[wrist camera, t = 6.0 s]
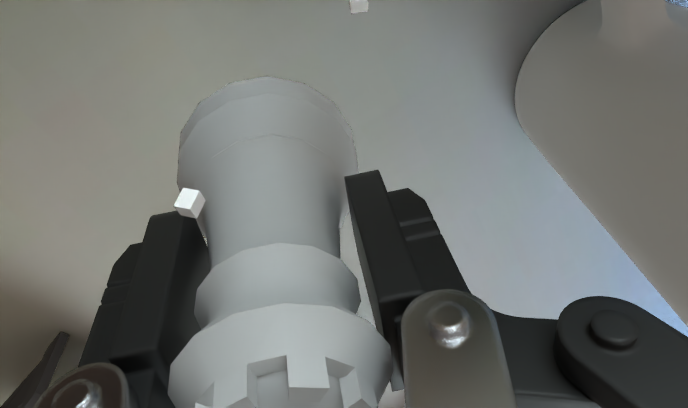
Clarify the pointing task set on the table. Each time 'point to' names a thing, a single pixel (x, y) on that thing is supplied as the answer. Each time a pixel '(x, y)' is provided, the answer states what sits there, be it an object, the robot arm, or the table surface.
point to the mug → (619, 126)
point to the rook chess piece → (274, 256)
